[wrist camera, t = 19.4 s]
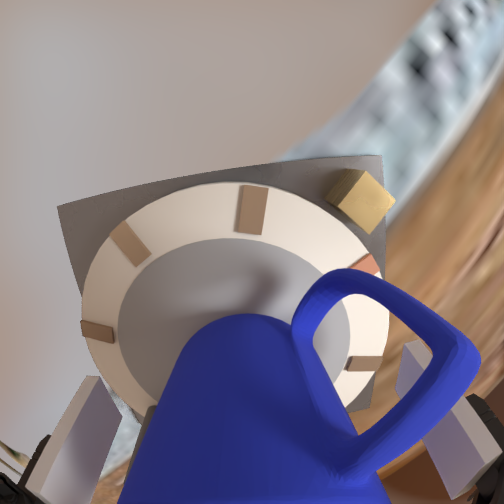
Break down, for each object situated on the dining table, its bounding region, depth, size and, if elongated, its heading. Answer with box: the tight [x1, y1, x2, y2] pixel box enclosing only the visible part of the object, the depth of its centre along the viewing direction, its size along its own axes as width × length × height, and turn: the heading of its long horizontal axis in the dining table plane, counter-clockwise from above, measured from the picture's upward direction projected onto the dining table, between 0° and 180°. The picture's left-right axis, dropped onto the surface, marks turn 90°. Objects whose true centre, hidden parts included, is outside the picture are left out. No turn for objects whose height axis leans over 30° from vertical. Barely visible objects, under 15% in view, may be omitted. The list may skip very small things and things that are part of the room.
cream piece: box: [80, 181, 389, 484], centre depth 13 cm, size 17×17×8 cm
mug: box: [117, 268, 481, 504], centre depth 9 cm, size 8×12×10 cm
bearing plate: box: [57, 155, 396, 425], centre depth 16 cm, size 18×18×3 cm
